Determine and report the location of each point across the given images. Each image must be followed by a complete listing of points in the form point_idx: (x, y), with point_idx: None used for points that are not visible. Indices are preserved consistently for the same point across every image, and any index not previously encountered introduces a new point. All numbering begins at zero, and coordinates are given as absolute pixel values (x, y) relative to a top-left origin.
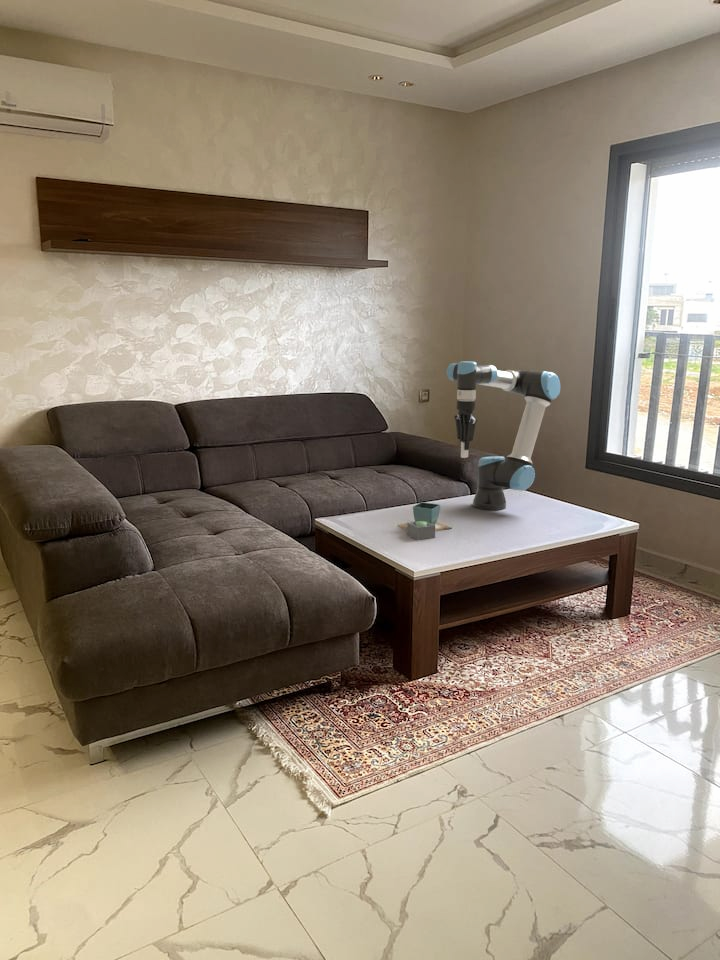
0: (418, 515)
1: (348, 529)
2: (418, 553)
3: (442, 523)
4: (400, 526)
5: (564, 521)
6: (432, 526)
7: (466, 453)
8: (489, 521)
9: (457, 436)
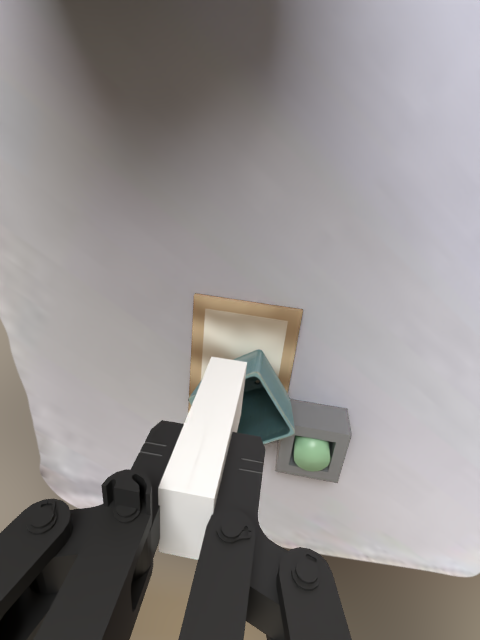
0: (249, 427)
1: None
2: (424, 514)
3: (245, 303)
4: None
5: None
6: (348, 442)
7: (239, 406)
8: (306, 98)
9: (25, 590)
